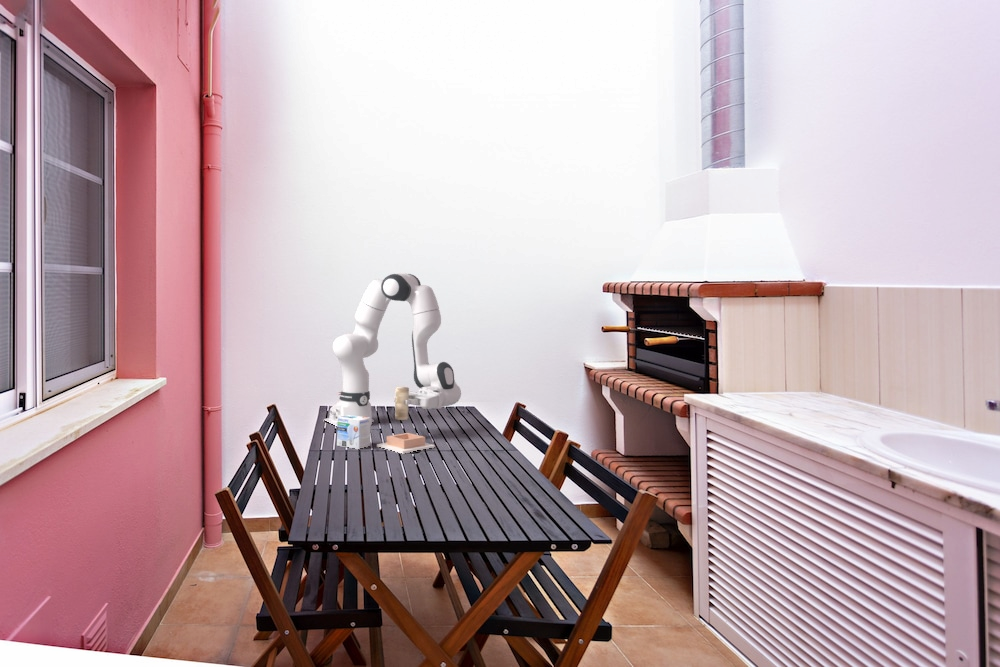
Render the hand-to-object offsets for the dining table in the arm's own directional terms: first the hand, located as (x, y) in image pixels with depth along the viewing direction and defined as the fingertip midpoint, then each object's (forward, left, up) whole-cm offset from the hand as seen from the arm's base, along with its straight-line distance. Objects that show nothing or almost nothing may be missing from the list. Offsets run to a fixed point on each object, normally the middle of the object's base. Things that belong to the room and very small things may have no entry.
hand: (400, 400), depth 273 cm
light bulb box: (-2, -20, -15) cm, 25 cm away
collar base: (+12, -7, -15) cm, 21 cm away
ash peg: (0, +1, -7) cm, 7 cm away
